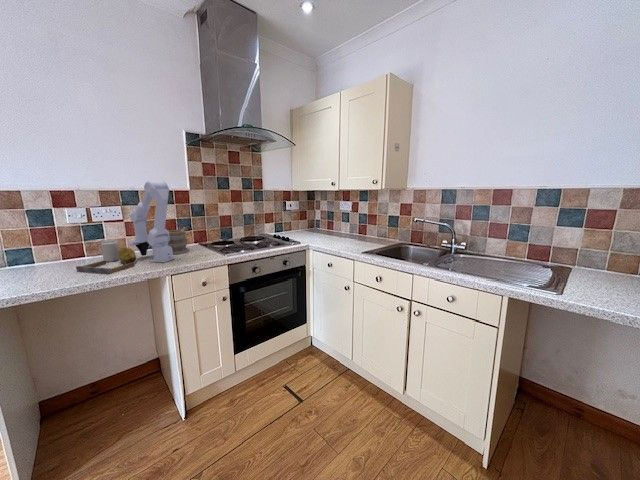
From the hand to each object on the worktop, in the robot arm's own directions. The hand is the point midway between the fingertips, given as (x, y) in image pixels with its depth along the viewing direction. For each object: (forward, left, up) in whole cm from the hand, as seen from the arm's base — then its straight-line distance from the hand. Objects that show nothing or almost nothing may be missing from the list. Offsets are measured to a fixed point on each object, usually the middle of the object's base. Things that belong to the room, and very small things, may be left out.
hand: (144, 255), depth 157 cm
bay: (0, +22, -2) cm, 22 cm away
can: (+13, +9, -2) cm, 16 cm away
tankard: (-9, -19, -2) cm, 21 cm away
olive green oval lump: (0, +10, -2) cm, 11 cm away
